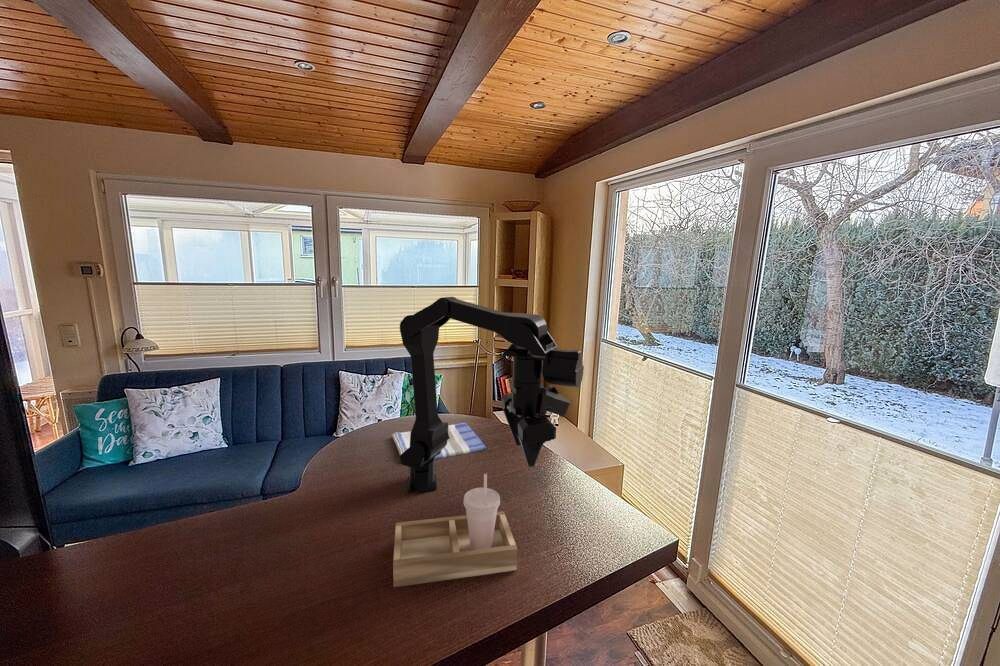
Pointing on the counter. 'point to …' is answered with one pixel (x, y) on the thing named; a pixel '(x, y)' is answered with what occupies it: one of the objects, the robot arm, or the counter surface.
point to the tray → (448, 551)
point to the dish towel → (458, 443)
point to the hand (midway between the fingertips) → (524, 455)
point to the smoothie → (481, 515)
